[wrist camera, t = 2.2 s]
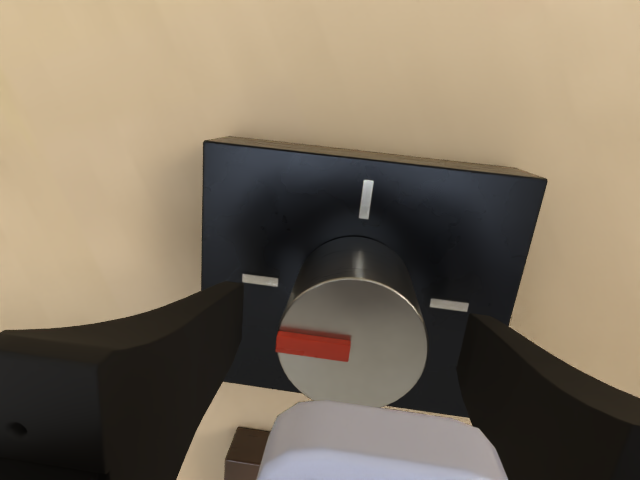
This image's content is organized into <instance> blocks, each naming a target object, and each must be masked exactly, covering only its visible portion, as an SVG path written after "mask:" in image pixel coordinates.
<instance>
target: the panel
mask: <svg viewBox="0 0 640 480" xmlns="http://www.w3.org/2000/svg"><path fill="white" fill-rule="evenodd" d="M546 185H547V179H546V178H543V177H540V176H537V175H534V174H531V173H528V172H526V171H523V170H520V169H517V168H511V167H502V166H493V165H484V164H475V163H466V162H457V161H448V160H439V159H430V158H421V157H412V156H403V155H394V154H385V153H376V152H367V151H358V150H349V149H340V148H331V147H322V146H313V145H304V144H295V143H286V142H277V141H268V140H259V139H250V138H241V137H232V136H228V137H222V138H217V139H211V140H205V141H204V142H203V200H202V272H201V291H202V290H204V289H207V288H209V287H211V286H213V285H216V284H218V283H221V282H225V281H229V282H236V283H244V299H243V320H242V339H241V342H240V345H239V348H238V350H237V353H236V356H235V358H234V361H233V363H232V365H231V367H230V369H229V371H228V373H227V375H226V377H225V378H224V380H223V382H229V383H236V384H243V385H250V386H256V387H263V388H270V389H277V390H284V391H290V392H297V393H302V392H300V391H299V390H298V389H297V388H296V387H295V386H294V385H293V383H292V382H291V381H290V380H289V378H288V377H287V375H286V374H285V372H284V370H283V368H282V366H281V363H280V360H279V357H278V352H276V351H275V348H276V336H277V331H278V327H279V323H280V320H281V318H282V315H283V312H284V310H285V307H286V305H287V302H288V299H289V297H290V294H291V292H292V289H293V286H294V284H295V281H296V279H297V276H298V274H299V271H300V269H301V267H302V265H303V263H304V262H305V260H306V259H307V258H308V256H309V255H310V254H311V253H312V252H313V251H315V250H316V249H317V248H318V247H320V246H321V245H323V244H325V243H327V242H329V241H332V240H335V239H338V238H343V237H363V238H368V239H372V240H375V241H377V242H379V243H382V244H384V245H385V246H387V247H388V248H390V249H391V250H392V251H394V252H395V253H396V254H397V255H398V256H399V257H400V259H401V260H402V261H403V263H404V264H405V266H406V268H407V270H408V272H409V275H410V278H411V281H412V284H413V287H414V291H415V294H416V297H417V300H418V304H419V307H420V310H421V313H422V317H423V320H424V323H425V326H426V330H427V334H428V340H429V352H428V359H427V362H426V366H425V368H424V371H423V373H422V375H421V377H420V378H419V380H418V381H417V383H416V384H415V385H414V386H413V387H412V389H411V390H410V391H408V392H407V393H406V394H405V395H404V396H402V397H401V398H399V399H398V400H397V401H395V402H393V403H391V404H389V405H386V406H392V407H399V408H406V409H413V410H419V411H426V412H433V413H440V414H447V415H453V416H460V417H467V418H469V415H468V412H467V410H466V407H465V404H464V401H463V398H462V395H461V390H460V386H459V381H458V376H457V371H456V368H457V363H458V359H459V355H460V351H461V346H462V342H463V338H464V334H465V329H466V325H467V321H468V317H469V313H472V314H480V315H488V316H491V317H493V318H495V319H497V320H499V321H500V322H502V323H504V324H505V325H507V326H509V322H510V318H511V314H512V311H513V307H514V303H515V300H516V296H517V292H518V289H519V285H520V281H521V277H522V274H523V270H524V266H525V263H526V259H527V255H528V252H529V248H530V244H531V241H532V237H533V233H534V229H535V226H536V222H537V218H538V215H539V211H540V207H541V204H542V200H543V196H544V192H545V189H546Z"/></svg>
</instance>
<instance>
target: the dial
mask: <svg viewBox="0 0 640 480" xmlns="http://www.w3.org/2000/svg"><path fill="white" fill-rule="evenodd" d="M275 351H276V352H278V357H279V360H280V363H281V366H282V368H283V370H284V372H285V374H286V375H287V377H288V378H289V380H290V381H291V382H292V383H293V385H294V386H295V387H296V388H297V389H298V390H299V391H300V392H302V393H303V394H304V395H306V396H307V397H308V398H310V399H312V400H313V401H321V400H331V401H338V402H344V403H351V404H358V405H365V406H372V407H379V408H381V407H383V406H386V405H389V404H391V403H393V402H395V401H397V400H398V399H399V398H401V397H402V396H404V395H405V394H406V393H407V392H408V391H410V390H411V389H412V387H413V386H414V385H415V384H416V383H417V381H418V380H419V378H420V377H421V375H422V373H423V371H424V368H425V366H426V362H427V359H428V352H429V340H428V334H427V330H426V326H425V323H424V320H423V317H422V313H421V310H420V307H419V304H418V300H417V297H416V294H415V291H414V287H413V284H412V281H411V278H410V275H409V272H408V270H407V268H406V266H405V264H404V263H403V261H402V260H401V259H400V257H399V256H398V255H397V254H396V253H395V252H394V251H392V250H391V249H390V248H388V247H387V246H385V245H384V244H382V243H379V242H377V241H375V240H372V239H368V238H363V237H343V238H338V239H335V240H332V241H329V242H327V243H325V244H323V245H321V246H320V247H318V248H317V249H316V250H315V251H313V252H312V253H311V254H310V255H309V256H308V258H307V259H306V260H305V262H304V263H303V265H302V267H301V269H300V271H299V274H298V276H297V279H296V281H295V284H294V286H293V289H292V292H291V294H290V297H289V299H288V302H287V305H286V307H285V310H284V312H283V315H282V318H281V320H280V323H279V327H278V331H277V336H276V348H275Z"/></svg>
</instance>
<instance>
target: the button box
mask: <svg viewBox="0 0 640 480" xmlns="http://www.w3.org/2000/svg"><path fill="white" fill-rule="evenodd" d="M269 434H270V432H267V431H260V430H254V429H247V428H241V427H238V428H237V430H236V433H235V435H234V438H233V440H232V443H231V445H230V448H229V451H228V453H227V456H226V458H225V474H224V480H256V479H257V476H258V472H259V468H260V465H261V461H262V458H263V454H264V451H265V447H266V443H267V440H268V436H269Z"/></svg>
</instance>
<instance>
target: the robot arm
mask: <svg viewBox="0 0 640 480" xmlns="http://www.w3.org/2000/svg"><path fill="white" fill-rule="evenodd" d="M243 299H244V283H236V282H229V281H225V282H221V283H218V284H216V285H213V286H211V287H209V288H207V289H204V290H202V291H200V292H198V293H195V294H193V295H191V296H188V297H186V298H184V299H181V300H178V301H176V302H173V303H171V304H168V305H166V306H163V307H160V308H157V309H154V310H151V311H148V312H144V313H141V314H137V315H134V316H130V317H126V318H121V319H116V320H111V321H106V322H100V323H95V324H88V325H81V326H72V327H63V328H51V329H28V330H4V331H2V332H1V333H0V480H176V479H177V476H178V474H179V471H180V469H181V466H182V464H183V461H184V459H185V456H186V454H187V451H188V449H189V447H190V444H191V442H192V439H193V437H194V435H195V432H196V430H197V428H198V426H199V424H200V422H201V420H202V418H203V416H204V414H205V413H206V411H207V409H208V407H209V405H210V404H211V402H212V400H213V398H214V396H215V395H216V393H217V391H218V389H219V387H220V386H221V384H222V382H223V380H224V378H225V377H226V375H227V373H228V371H229V369H230V367H231V365H232V363H233V361H234V358H235V356H236V353H237V350H238V348H239V345H240V342H241V339H242V320H243ZM456 371H457V376H458V381H459V386H460V390H461V395H462V398H463V401H464V404H465V407H466V410H467V412H468V415H469V418H470V420H471V423H472V426H471V425H468V424H466V423H463V422H460V421H458V420H455V419H453V418H447V417H440V416H433V415H427V414H420V413H413V412H406V411H399V410H392V409H386V408H379V407H372V406H365V405H358V404H351V403H344V402H338V401H331V400H321V401H307V402H298V403H297V404H295V405H294V406H292V407H290V408H289V409H287V410H286V411H284V412H283V413H281V414H279V415H278V416H277V418H276V420H275V422H274V425H273V427H272V429H271V432H270V434H269V436H268V440H267V443H266V447H265V451H264V454H263V458H262V461H261V465H260V468H259V472H258V476H257V479H256V480H640V398H638V397H635V396H633V395H631V394H628V393H626V392H623V391H621V390H619V389H616V388H614V387H612V386H610V385H608V384H605V383H603V382H601V381H599V380H597V379H595V378H593V377H591V376H589V375H587V374H585V373H583V372H581V371H580V370H578V369H576V368H574V367H572V366H570V365H569V364H567V363H565V362H564V361H562V360H560V359H558V358H557V357H555V356H553V355H552V354H550V353H548V352H547V351H545V350H544V349H542V348H540V347H539V346H537V345H536V344H534V343H533V342H531V341H530V340H528V339H527V338H525V337H524V336H522V335H521V334H519V333H518V332H516V331H514V330H513V329H511V328H510V327H508V326H507V325H505V324H504V323H502V322H500V321H499V320H497V319H495V318H493V317H491V316H488V315H480V314H472V313H469V317H468V321H467V325H466V329H465V334H464V338H463V342H462V346H461V351H460V355H459V359H458V363H457V368H456Z"/></svg>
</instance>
